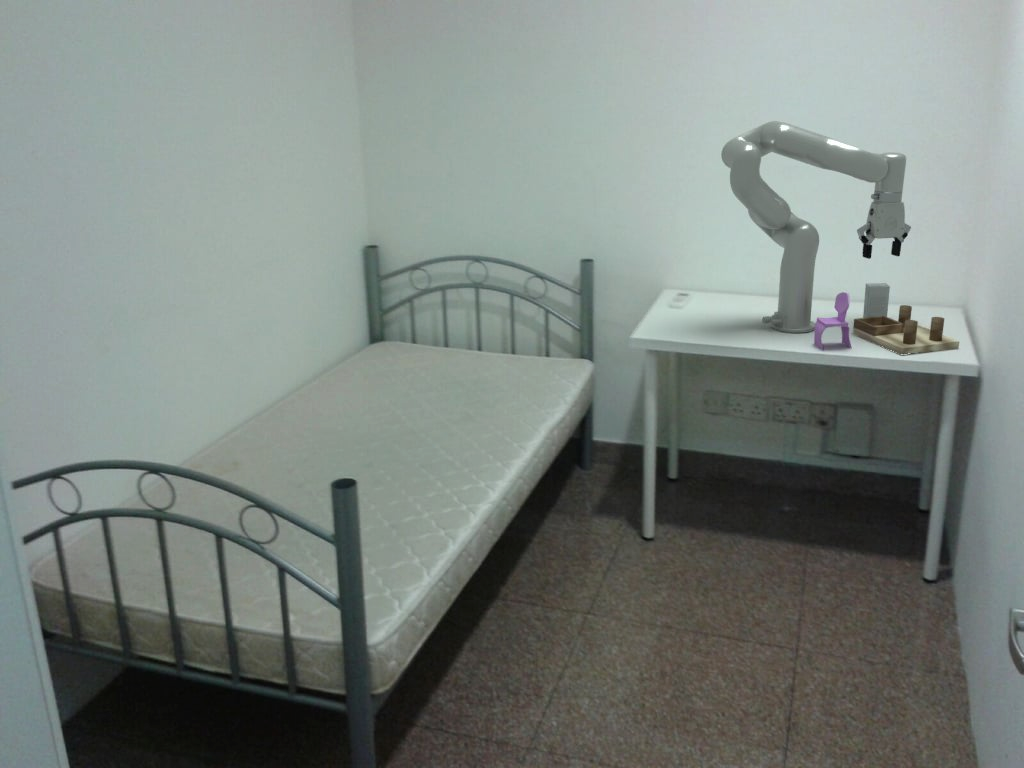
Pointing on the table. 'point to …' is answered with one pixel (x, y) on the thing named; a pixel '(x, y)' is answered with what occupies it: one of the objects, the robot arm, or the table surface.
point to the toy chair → (835, 321)
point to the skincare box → (876, 299)
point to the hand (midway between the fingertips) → (881, 256)
